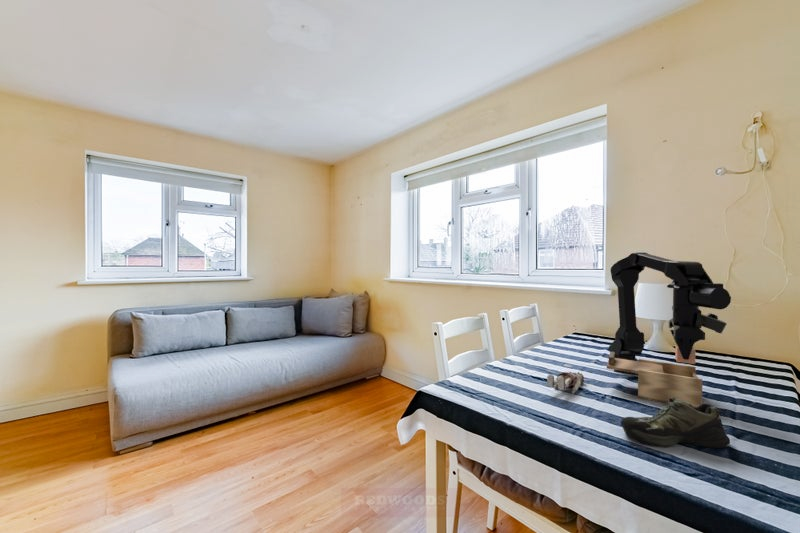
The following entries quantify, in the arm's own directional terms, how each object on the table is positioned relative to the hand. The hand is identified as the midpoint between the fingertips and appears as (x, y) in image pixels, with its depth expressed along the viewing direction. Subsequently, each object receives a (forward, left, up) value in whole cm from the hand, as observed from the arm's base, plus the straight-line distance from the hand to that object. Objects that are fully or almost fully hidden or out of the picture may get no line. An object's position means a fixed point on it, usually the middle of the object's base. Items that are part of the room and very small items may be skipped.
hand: (684, 357), depth 97 cm
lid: (-12, -1, -5) cm, 13 cm away
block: (0, 0, -1) cm, 1 cm away
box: (-4, -1, -12) cm, 13 cm away
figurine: (-29, -12, -12) cm, 34 cm away
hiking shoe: (-5, -31, -12) cm, 34 cm away
